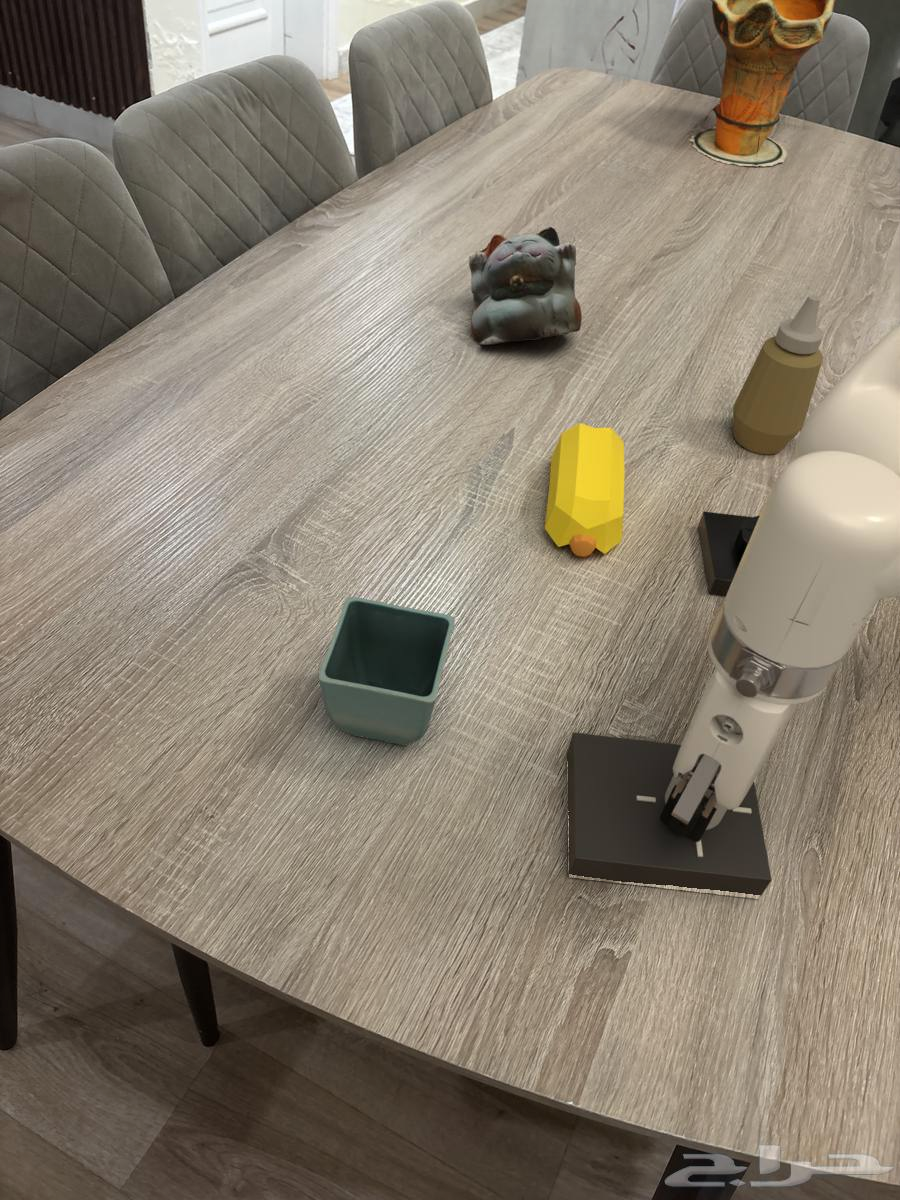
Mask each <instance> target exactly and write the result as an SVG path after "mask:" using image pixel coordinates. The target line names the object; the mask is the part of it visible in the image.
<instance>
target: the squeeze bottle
mask: <svg viewBox="0 0 900 1200" xmlns="http://www.w3.org/2000/svg"><path fill="white" fill-rule="evenodd" d="M820 301H821V298H820V297H819V296H818V295H815V294H810V295H808V297H807V298H806V299H805V301H804V302H803V304H802V306H800V308H799V310H798V311H797V313H796V315H795V316H794V317H793V318H790V319H785V320H783V321H781V322H780V323H779V327H778V329H777V331H776V335H774V336H771V337H769V338H767V339H766V340H764V342H763V344H762V346H761V348H760V349H759V352H758V354H757V356H756V358H755V360H754V362H753V365H752V367H751V369H750V371H749V373H748V375H747V376H746V379H745V381H744V383H743V385H742V387H741V390H740V391H739V393H738V395H737V397H736V399H735V401H734V405H733V407H732V417H733V419H732V421H733V437H734V439H735V441H736V442H737V443H738V444H739V445H740V446H741V447H743V448H744V449H746V450H747V451H749V452H753V453H756V454H761V455H775V454H778V453H780V452H781V451H782V450H784V448H785V447H786V446H788V444H789V443H790V442H791V441H792V440H793V439H794V438H795V437H796V436H797V435H799V433H800V431H801V429H802V427H803V425H804V423H805V422H806V419H807V418H806V417H807V414H808V411H809V407H810V405H811V400H812V397H813V395H814V390H815V387H816V384H817V381H818V378H819V374H820V371H821V370H820V369H821V367H822V364H823V360H824V356H823V353H822V351H821V350H820V345H821V343H822V341H823V338H824V332H823V330H822V329H821V328H820V327H819V326H817V320H818V313H819V307H820Z"/></svg>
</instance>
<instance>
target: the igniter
mask: <svg viewBox="0 0 900 1200" xmlns="http://www.w3.org/2000/svg"><path fill="white" fill-rule="evenodd" d="M759 516H760V514H759V515H755V516H747V515H737V514H727V513H720V512H712V511H702V514H701V517H700V520H699V523H698V525H697V531H698V538H699V544H700V548H701V557H702V562H703V566H704V567H703V568H704V573H705V574H704V575H705V581H706V586H707V593H708V595H709V596H717V597H724V598H726V595H727V593H728V590H729V588H730V585H731V583H732V581H733V578H734V576H735V573H736V571H737V569H738V566H739V564H740V562H741V559H742V557H743V554H744V552H745V550H746V547H747V545H748V543H749V540H750V538H751V535H752V533H753V531H754V528H755V526H756V524H757V521H758V519H759Z"/></svg>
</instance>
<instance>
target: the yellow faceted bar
mask: <svg viewBox="0 0 900 1200" xmlns="http://www.w3.org/2000/svg"><path fill="white" fill-rule="evenodd" d="M625 469H626V467H625V442H624V440H623V439H622V438H621V437H620V436H619V434H618V433H617V432H616V431H615V430H614V429H613V427H593V426H591V425H587V424H585V423H581V422H579V423H577V424H575V425H574V426H572V427H570V428H568V429H566V430H564V431H563V432H561V434H560V436H559V438H558V441H557V443H556V446H555V448H554V450H553V453H552V455H551V462H550V472H549V473H550V474H549V484H548V494H547V502H546V503H547V504H546V511H545V512H546V514H545V523H544V529H545V531H546V532H547V534H548V535H549V537H550V538H551V539H552V541H553V542H554V543H555V544H556V546H557V548H560V547H564V546H567V545H569V548H570V550H571V552H572V553H573V554H574V555H575V556H577V557H583V558H584V557H588V556H591V555H592V553H593V552H594V550H595V549H597V550H598V551H600V552H601V553H602V554H604V555H605V554H607V553H608V552H609V551H611V550H612V549H613V548H614V547H616V546H617V545H618V544H620V543H621V542H622V541H623V531H624V529H623V528H624V511H625V509H624V508H625V507H624V506H625V480H626V479H625V477H626V476H625V475H626V474H625V473H626V472H625V471H626V470H625Z"/></svg>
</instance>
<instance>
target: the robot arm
mask: <svg viewBox="0 0 900 1200" xmlns="http://www.w3.org/2000/svg"><path fill="white" fill-rule="evenodd" d="M759 515H760V516H759ZM759 515H758V516H759V519H758V521H757V524H756V526H755V528H754V531H753V533H752V535H751V538H750V540H749V543H748V545H747V547H746V550H745V552H744V554H743V557H742V559H741V562H740V564H739V566H738V569H737V571H736V573H735V576H734V578H733V581H732V583H731V585H730V588H729V590H728V593H727V595H726V597H724V599H723V603H722V604H721V607H720V609H719V612H718V615H717V617H716V618H715V620H714V623H713V626H712V628H711V631H710V633H709V636H708V640H707V649H708V654H709V657H710V660H711V662H712V664H713V666H714V669H713V672H712V674H711V676H710V678H709V680H708V682H707V685H706V687H705V689H704V692H703V694H702V696H701V698H700V700H699V702H698V705H697V707H696V709H695V711H694V714H693V716H692V719H691V720H690V723H689V726H688V728H687V730H686V732H685V735H684V737H683V739H682V742H681V744H680V745H681V747H680V749H679V752H678V755H677V757H676V760H675V762H674V766H673V773H674V776H675V778H676V779H677V778H678V777H680V778H681V779H680V781H679V783H678V785H675V786H674V788H673V789H672V791H671V794H670V796H669V798H668V800H667V802H666V804H665V807H664V809H663V811H662V813H661V815H660V820H661V821H662V822H663V823H665V824H667V825H668V826H670V828H671V829H672V830H674V831H675V832H677V833H679V834H680V835H683V836H687V837H688V838H690V839H692V840H693V841H696V842H699V841H700V839H701V838H702V836H703V834H704V832H705V830H706V829H707V827H708V825H709V823H710V821H711V819H712V817H713V816H714V814H715V812H716V810H717V809H716V808H715V807H714V805H715V803H716V802H717V803H718V804H719V805H721V806H723V807H725V808H726V809H728V810H731V809H735V808H737V807H739V805H740V804H741V802H742V801H743V799H744V798H745V796H746V794H747V792H748V791H749V789H750V787H751V786H752V784H753V782H754V783H755V780H756V779H757V777H758V776H759V774H760V772H761V770H762V769H763V767H764V765H765V764H766V761H767V760H768V758H769V756H770V755H771V753H772V751H773V750H774V748H775V746H776V745H777V743H778V741H779V739H780V737H781V736H782V734H783V732H784V730H785V728H786V727H787V725H788V724H789V721H790V720H791V718H792V717H793V714H794V713H795V711H796V709H797V707H798V705H801V704H806V703H808V702H810V701H813V700H814V699H816V698H818V697H819V696H821V694H822V693H824V691H825V690H826V688H827V687H828V685H829V683H830V682H831V680H832V679H833V677H834V675H835V673H836V672H837V670H838V668H839V667H840V665H841V663H842V662H843V660H844V658H845V657H846V655H847V653H848V651H849V650H850V648H851V646H852V645H853V643H854V641H855V640H856V638H857V637H858V635H859V633H860V631H861V629H862V628H863V626H864V624H865V623H866V621H867V620H868V618H869V616H870V614H871V613H872V611H873V608H874V607H875V605H876V604H877V603H878V602H879V601H880V600H883V599H888V598H897V597H900V322H899V323H898V324H896V326H894V327H893V328H892V329H890V331H888V332H886V334H885V335H884V336H883V337H882V338H881V339H880V340H879V341H878V342H877V343H876V344H874V345H873V347H871V348H870V349H869V351H868V352H866V353H865V354H864V355H863V356H862V357H861V358H860V360H858V361H857V362H856V363H854V365H853V366H852V367H851V368H850V369H849V370H848V371H847V372H846V373H845V374H844V375H842V377H841V378H840V379H839V380H838V381H837V382H836V383H835V384H834V385H833V386H832V387H831V388H830V390H829V391H828V392H827V393H826V394H825V395H824V396H823V397H822V399H821V400H820V401H819V402H818V403H817V404H816V406H815V407H814V408H813V410H812V411H811V413H810V414H809V415H808V417H807V418H806V419H805V421H804V424H803V427H802V429H801V430H800V431H799V432H798V436H797V439H796V443H795V448H794V459H793V460H792V461H790V462H789V463H788V464H787V465H786V466H785V467H784V468H783V469H782V470H781V471H780V472H779V474H778V475H777V477H776V479H775V481H774V482H773V485H772V486H771V488H770V491H769V493H768V495H767V498H766V500H765V502H764V504H763V507H762V509H761V512H760V514H759ZM708 789H710V790H711V791H712V793H711V795H710V797H709V798H707V797H705V796H704V795H705V793H706V791H707V790H708Z"/></svg>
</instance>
